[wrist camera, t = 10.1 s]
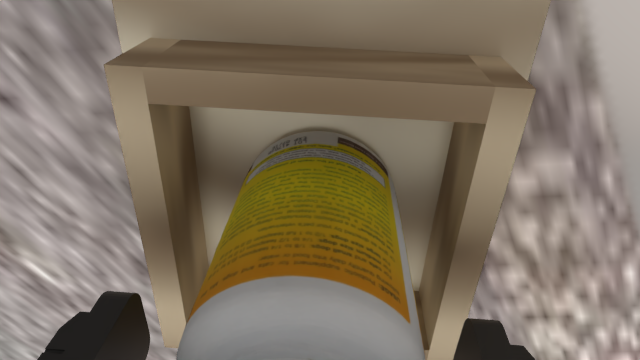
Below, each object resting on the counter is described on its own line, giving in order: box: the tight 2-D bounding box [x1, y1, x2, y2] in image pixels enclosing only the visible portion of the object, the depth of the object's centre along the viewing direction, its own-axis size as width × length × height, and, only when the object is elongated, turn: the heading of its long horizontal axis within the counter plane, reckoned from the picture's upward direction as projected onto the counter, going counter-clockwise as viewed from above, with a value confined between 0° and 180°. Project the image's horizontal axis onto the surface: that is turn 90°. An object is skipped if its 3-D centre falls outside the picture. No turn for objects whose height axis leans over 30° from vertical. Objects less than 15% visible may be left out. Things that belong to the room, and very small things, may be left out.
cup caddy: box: [104, 0, 551, 360], centre depth 16 cm, size 19×13×4 cm
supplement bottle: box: [177, 131, 425, 360], centre depth 12 cm, size 6×6×10 cm
